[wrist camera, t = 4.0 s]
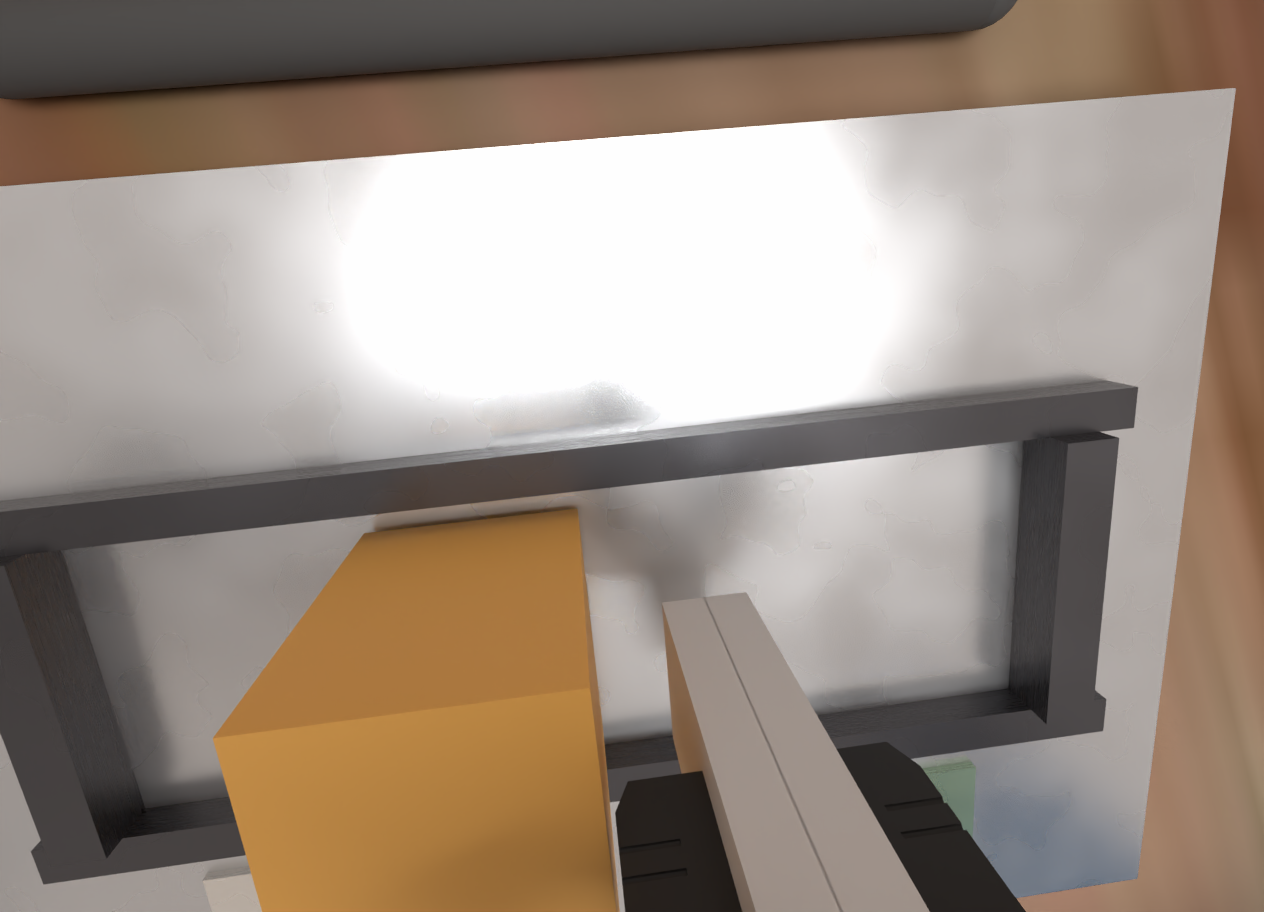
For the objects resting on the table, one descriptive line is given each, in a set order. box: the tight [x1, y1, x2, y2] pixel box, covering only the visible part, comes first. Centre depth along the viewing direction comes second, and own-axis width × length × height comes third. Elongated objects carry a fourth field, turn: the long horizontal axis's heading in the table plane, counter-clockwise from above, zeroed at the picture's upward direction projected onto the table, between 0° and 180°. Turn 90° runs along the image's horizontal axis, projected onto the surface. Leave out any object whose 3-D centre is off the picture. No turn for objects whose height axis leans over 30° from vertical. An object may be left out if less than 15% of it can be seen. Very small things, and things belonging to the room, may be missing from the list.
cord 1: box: [0, 0, 1017, 99], centre depth 13 cm, size 20×2×2 cm, turn 95°
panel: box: [0, 88, 1236, 912], centre depth 15 cm, size 26×18×4 cm
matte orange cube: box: [213, 509, 620, 912], centre depth 11 cm, size 4×5×6 cm
